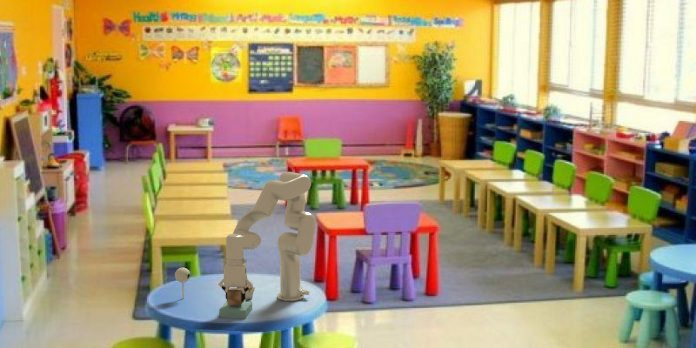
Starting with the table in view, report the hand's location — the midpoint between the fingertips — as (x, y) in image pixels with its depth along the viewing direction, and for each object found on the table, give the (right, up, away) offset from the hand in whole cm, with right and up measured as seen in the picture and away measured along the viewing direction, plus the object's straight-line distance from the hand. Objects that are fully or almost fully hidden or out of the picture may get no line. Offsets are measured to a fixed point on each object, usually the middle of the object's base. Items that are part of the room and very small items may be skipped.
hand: (235, 300), depth 397 cm
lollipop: (-28, -2, +22) cm, 36 cm away
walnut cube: (0, -1, 0) cm, 1 cm away
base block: (0, -6, +1) cm, 6 cm away
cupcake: (+2, -2, +23) cm, 23 cm away
